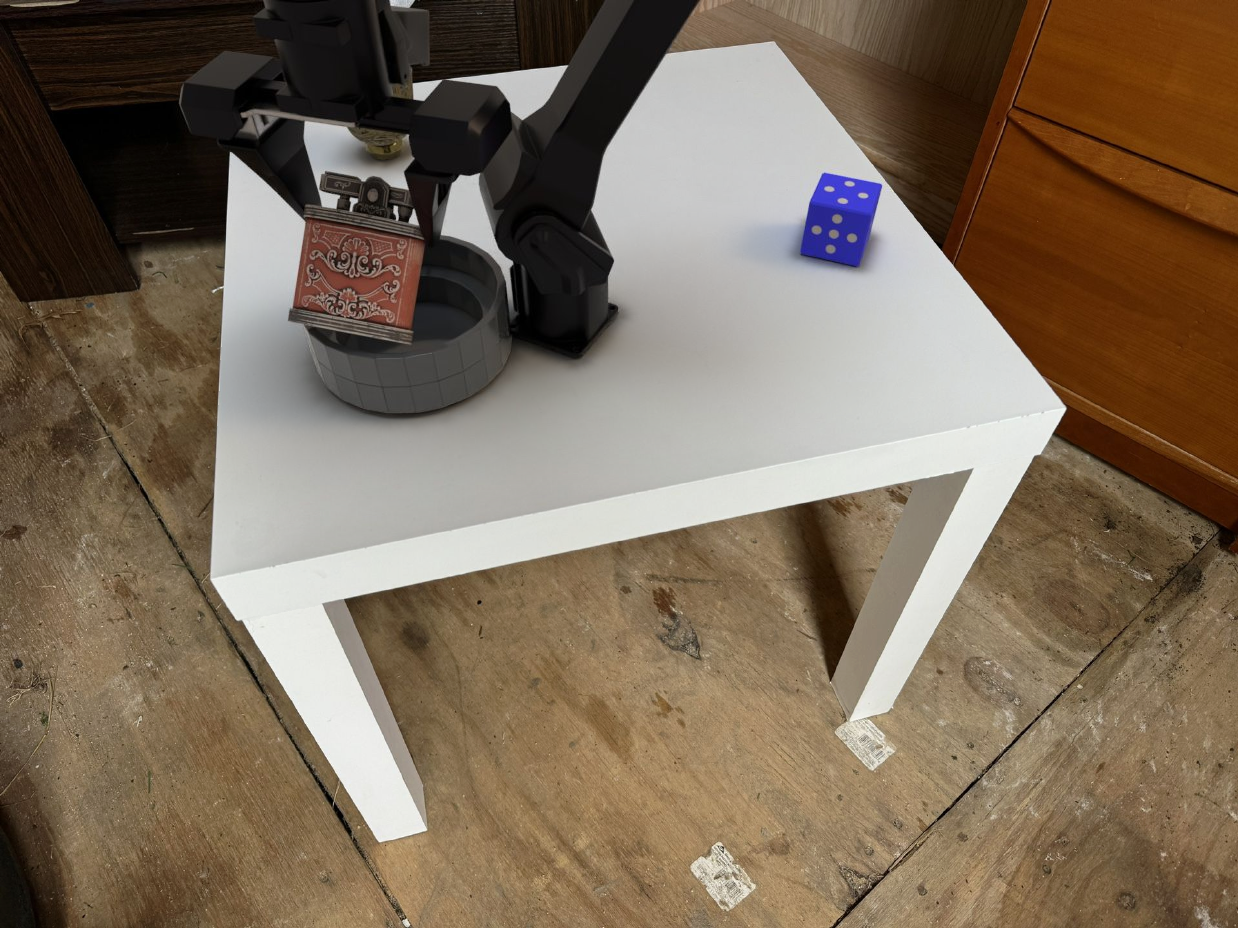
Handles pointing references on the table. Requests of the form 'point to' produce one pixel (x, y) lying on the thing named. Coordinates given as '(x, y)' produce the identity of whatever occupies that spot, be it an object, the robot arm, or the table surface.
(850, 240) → the die
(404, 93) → the cup
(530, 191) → the robot arm
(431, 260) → the bowl
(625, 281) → the table surface
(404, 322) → the lighter
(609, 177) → the table surface
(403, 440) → the table surface
